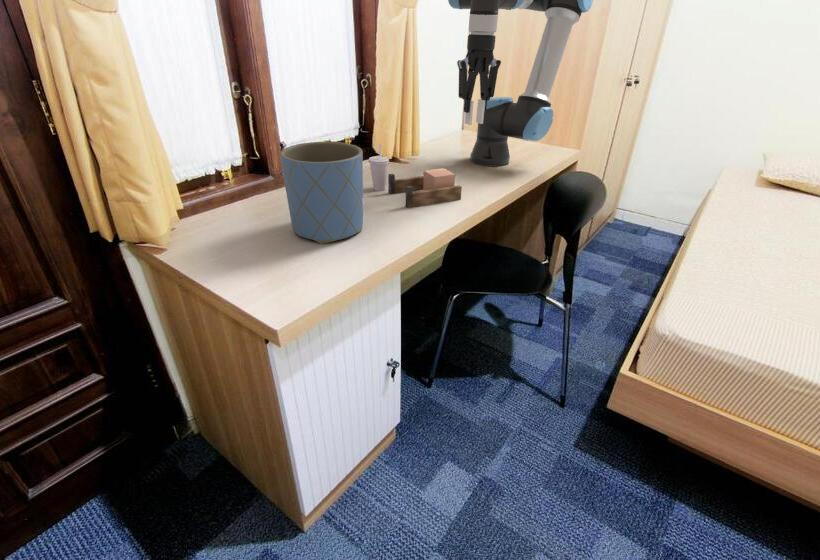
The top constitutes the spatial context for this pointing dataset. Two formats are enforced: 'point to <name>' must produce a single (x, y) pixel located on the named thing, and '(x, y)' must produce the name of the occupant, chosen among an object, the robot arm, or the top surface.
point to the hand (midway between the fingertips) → (473, 123)
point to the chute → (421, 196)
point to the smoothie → (379, 171)
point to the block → (438, 179)
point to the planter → (324, 189)
